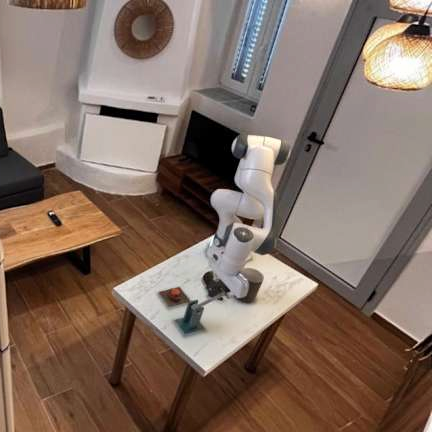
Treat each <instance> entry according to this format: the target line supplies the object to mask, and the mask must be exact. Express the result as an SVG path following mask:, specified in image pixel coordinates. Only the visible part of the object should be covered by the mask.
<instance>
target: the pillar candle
mask: <svg viewBox="0 0 432 432" xmlns="http://www.w3.org/2000/svg"><path fill="white" fill-rule="evenodd" d="M241 274H242V275H243V276H244V277H245V278H246V279H247V280H248V283H249V288H248V292H247V295H246V296H245V297H242V298H237V297H236V296H235V295H234V296H233V298H235V299H236V300H237V301H239V302H241V303H243V304H252V303H254V301H255V300H256V297H257V296H258V293H259V291H260V289H261V287H262V284H263V282H264V280H265V276H264V274H263V272H260V271H259V270H258V269H255V268H253V267H244V269H243V272H242V273H241Z"/></svg>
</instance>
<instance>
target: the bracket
mask: <svg viewBox="0 0 432 432" xmlns="http://www.w3.org/2000/svg"><path fill="white" fill-rule="evenodd" d="M195 303H197V304H199V299H193V300H190V301H189V302H187V304H186V308H185V311H184V315H183V317H181V318H177V319H174V321H175V323H176V324H177V326H178V327H179V329H180V330H181V331H182V333H183V334H184V335H188V334H192V333H196V332H199V331H202V330H203V331H204V330H205V329H206V328H205V327H204V326H203V323H201V319H202V316H203V313H204V310H205V307H204V306H202V307H199V308H195V309H194V310H193V311H192V309H191V305H193V304H195Z"/></svg>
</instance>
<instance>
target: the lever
mask: <svg viewBox="0 0 432 432" xmlns="http://www.w3.org/2000/svg"><path fill="white" fill-rule="evenodd" d="M219 291H221V292H219V294H218V295H216V296H214V297H212V298H211V297H210V298H208V299H206V300H204V301H202V302H200V303H198V304H197V303H195V304H193V305H191V309H192V311H193V310H194V309H195V308H199V307H204V306H207V305H209V304H210V303H212V302H214V301H217V299H218V298H220V297H222V298H223V297H224V296H225V298H226V299H228V300H229V299H230V298H229V297H228V296H227V295H228V292H226V290H225V289H224V288H223V287H221V288H219Z"/></svg>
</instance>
